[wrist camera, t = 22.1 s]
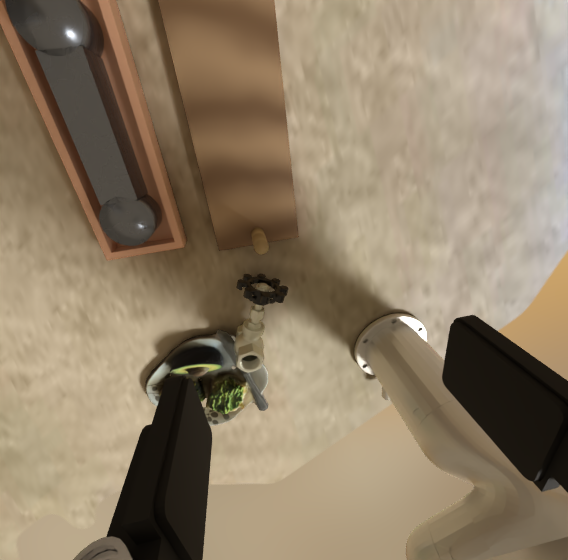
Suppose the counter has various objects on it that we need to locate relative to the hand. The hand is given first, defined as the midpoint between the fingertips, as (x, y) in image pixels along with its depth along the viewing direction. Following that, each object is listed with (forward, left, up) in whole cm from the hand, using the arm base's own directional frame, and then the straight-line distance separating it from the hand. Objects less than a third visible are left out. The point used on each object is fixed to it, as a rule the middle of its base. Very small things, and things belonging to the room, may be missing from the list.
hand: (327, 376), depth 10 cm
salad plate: (-25, +12, -28) cm, 40 cm away
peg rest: (+10, +1, -28) cm, 30 cm away
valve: (-14, +3, -28) cm, 32 cm away
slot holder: (+10, +14, -28) cm, 32 cm away
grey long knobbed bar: (+10, +14, -27) cm, 32 cm away
